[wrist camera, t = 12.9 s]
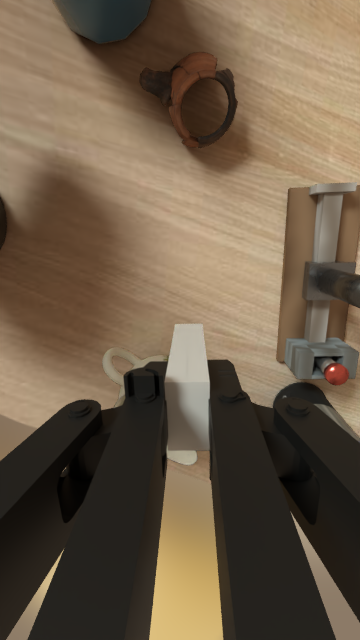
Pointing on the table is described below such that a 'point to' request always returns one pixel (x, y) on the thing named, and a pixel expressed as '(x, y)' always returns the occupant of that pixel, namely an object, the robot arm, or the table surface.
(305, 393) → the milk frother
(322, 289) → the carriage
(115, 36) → the wine bottle
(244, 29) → the table surface
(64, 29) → the table surface
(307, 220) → the rail base
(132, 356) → the pitcher
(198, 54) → the broken pottery
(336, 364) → the red ball knob
